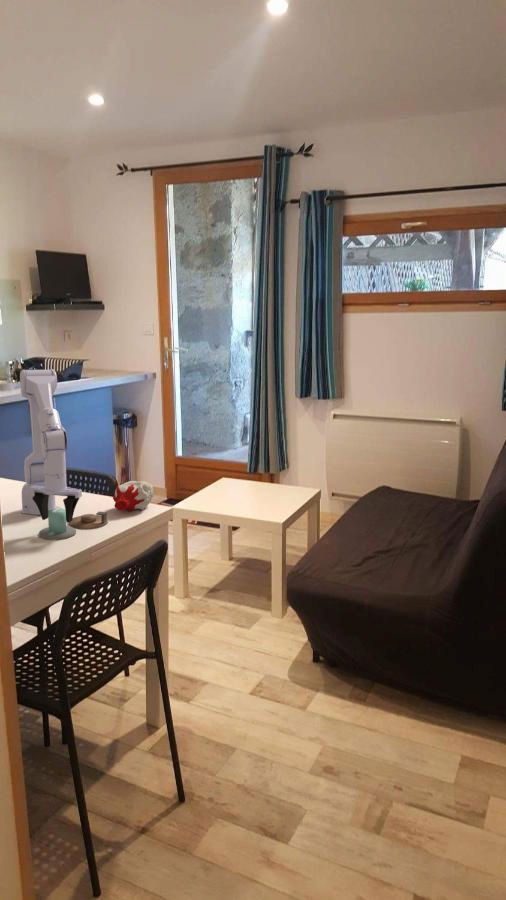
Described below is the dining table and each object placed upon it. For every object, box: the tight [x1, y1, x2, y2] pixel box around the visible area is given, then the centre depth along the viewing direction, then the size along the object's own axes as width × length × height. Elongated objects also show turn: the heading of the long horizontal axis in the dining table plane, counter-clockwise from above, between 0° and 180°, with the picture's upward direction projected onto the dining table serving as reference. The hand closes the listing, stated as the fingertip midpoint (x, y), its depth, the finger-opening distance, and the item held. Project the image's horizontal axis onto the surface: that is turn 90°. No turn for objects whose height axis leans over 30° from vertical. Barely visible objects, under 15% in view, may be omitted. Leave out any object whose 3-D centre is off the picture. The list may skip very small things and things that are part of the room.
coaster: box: [38, 525, 77, 541], centre depth 184 cm, size 10×10×1 cm
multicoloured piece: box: [112, 480, 155, 512], centre depth 205 cm, size 9×11×15 cm
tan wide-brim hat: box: [68, 511, 109, 530], centre depth 193 cm, size 11×11×4 cm
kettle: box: [47, 507, 67, 536], centre depth 182 cm, size 6×5×6 cm
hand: (57, 520), depth 183 cm, fingers open, 7 cm apart
